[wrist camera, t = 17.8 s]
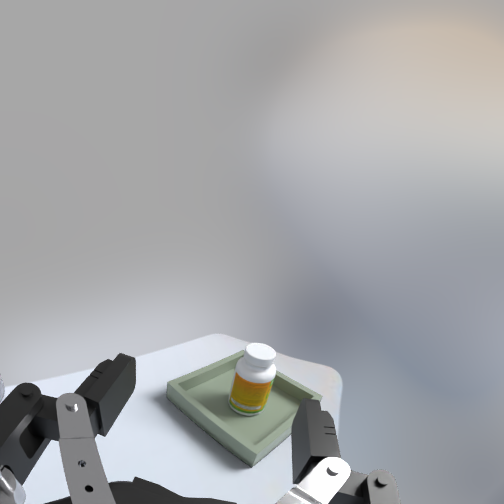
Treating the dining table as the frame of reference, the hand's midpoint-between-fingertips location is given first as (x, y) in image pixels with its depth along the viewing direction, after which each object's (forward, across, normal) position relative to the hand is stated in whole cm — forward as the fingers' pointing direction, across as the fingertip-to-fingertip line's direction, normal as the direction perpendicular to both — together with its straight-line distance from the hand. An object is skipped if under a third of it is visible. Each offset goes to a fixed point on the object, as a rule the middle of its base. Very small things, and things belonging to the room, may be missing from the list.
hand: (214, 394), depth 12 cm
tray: (+22, -4, +21) cm, 31 cm away
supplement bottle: (+22, -4, +21) cm, 30 cm away
